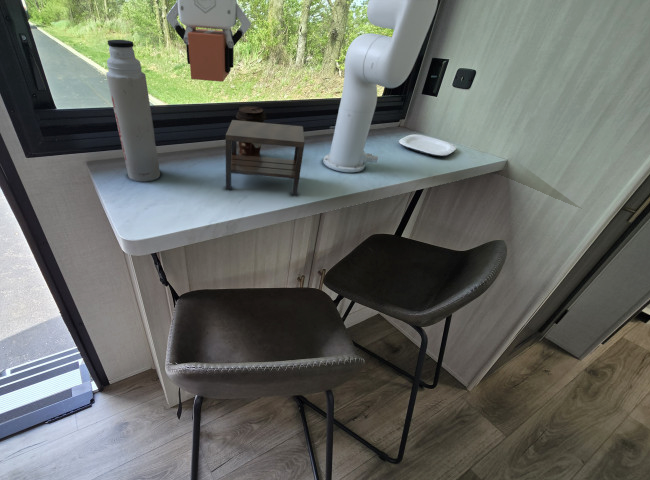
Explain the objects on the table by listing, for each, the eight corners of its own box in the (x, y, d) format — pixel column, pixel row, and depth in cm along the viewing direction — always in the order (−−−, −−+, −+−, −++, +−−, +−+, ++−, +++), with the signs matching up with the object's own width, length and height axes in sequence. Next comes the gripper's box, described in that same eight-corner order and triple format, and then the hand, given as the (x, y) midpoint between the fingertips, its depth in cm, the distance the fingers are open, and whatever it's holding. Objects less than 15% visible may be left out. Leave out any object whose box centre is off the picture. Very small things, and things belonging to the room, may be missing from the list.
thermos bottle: (125, 181, 81) (93, 41, 62) (131, 168, 87) (104, 36, 68) (157, 182, 82) (136, 44, 63) (162, 169, 88) (143, 39, 69)
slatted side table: (295, 176, 91) (302, 126, 82) (296, 195, 82) (304, 142, 73) (232, 170, 91) (232, 119, 82) (226, 189, 82) (225, 134, 73)
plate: (459, 150, 118) (461, 145, 117) (442, 162, 107) (444, 157, 106) (412, 136, 126) (413, 132, 125) (392, 146, 116) (393, 141, 114)
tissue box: (229, 73, 69) (228, 30, 64) (223, 81, 62) (222, 35, 57) (200, 70, 69) (197, 28, 64) (191, 79, 62) (187, 32, 57)
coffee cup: (265, 152, 102) (268, 107, 94) (262, 162, 96) (265, 114, 87) (237, 150, 103) (238, 103, 94) (233, 159, 97) (233, 111, 88)
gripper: (145, -70, 50) (162, 70, 62) (256, -61, 50) (252, 77, 62) (159, -64, 55) (173, 63, 68) (259, -55, 55) (255, 70, 68)
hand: (211, 69), depth 65 cm, fingers closed on tissue box, 6 cm apart
